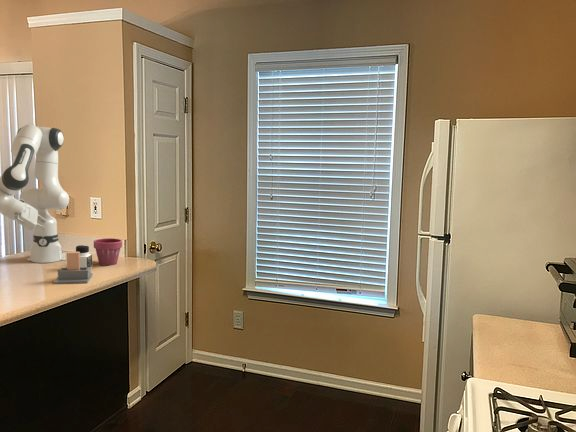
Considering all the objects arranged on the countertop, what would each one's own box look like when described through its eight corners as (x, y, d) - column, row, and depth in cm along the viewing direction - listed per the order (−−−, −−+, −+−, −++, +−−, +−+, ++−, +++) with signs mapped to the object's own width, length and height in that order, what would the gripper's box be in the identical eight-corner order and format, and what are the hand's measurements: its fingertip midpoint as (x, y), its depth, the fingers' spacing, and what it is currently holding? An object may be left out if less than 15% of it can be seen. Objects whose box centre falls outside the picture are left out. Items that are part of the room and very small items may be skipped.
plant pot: (123, 260, 256) (123, 237, 254) (121, 266, 243) (121, 242, 241) (95, 260, 252) (95, 238, 250) (92, 267, 239) (91, 243, 237)
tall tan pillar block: (68, 276, 216) (68, 251, 214) (80, 276, 217) (79, 251, 215) (67, 278, 213) (66, 253, 211) (78, 278, 214) (78, 253, 212)
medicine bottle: (87, 270, 232) (86, 247, 230) (72, 270, 231) (72, 246, 230) (92, 267, 239) (91, 244, 237) (78, 266, 238) (77, 244, 237)
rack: (61, 275, 220) (61, 265, 219) (92, 275, 223) (92, 265, 223) (53, 283, 206) (53, 273, 206) (87, 283, 210) (86, 272, 209)
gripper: (18, 212, 198) (48, 228, 206) (21, 198, 216) (49, 213, 223) (9, 223, 198) (40, 239, 206) (13, 208, 216) (41, 223, 223)
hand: (45, 225), depth 215 cm, fingers open, 8 cm apart
